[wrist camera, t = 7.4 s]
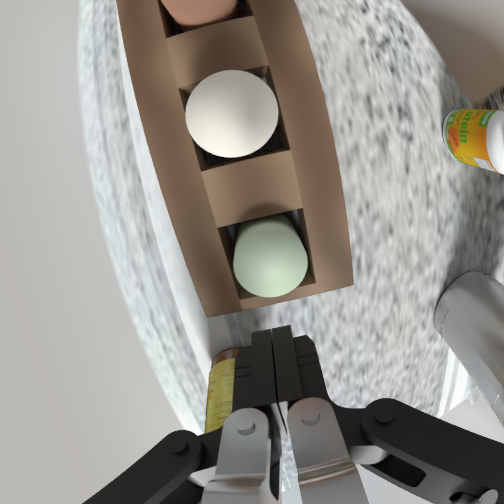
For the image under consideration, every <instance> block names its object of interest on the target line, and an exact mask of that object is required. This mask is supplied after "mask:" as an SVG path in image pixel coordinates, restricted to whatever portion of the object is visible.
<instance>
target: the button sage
mask: <svg viewBox="0 0 504 504" xmlns="http://www.w3.org/2000/svg"><path fill="white" fill-rule="evenodd" d="M233 266H234V273H235V276H236V278H237V280H238V282H239V283H240V284H241V286H242V287H243V288H245V289H246V290H247V291H249V292H250V293H252V294H255V295H257V296H261V297H278V296H281V295H284V294H287V293H289V292H290V291H292V290H293V289H295V288H296V287H297V286H298V285H299V284H300V283H301V281H302V280H303V278H304V276H305V274H306V271H307V266H308V260H307V254H306V251H305V249H304V247H303V245H302V243H301V240H300V238H299V236H298V234H297V232H296V230H295V228H294V226H293V224H292V223H291V221H290V220H289V219H288V218H287V217H285V216H284V215H282V214H280V213H277V214H273V215H269V216H264V217H260V218H256V219H252V220H247V221H243V222H242V224H241V225H240V227H239V229H238V231H237V235H236V244H235V253H234V263H233Z"/></svg>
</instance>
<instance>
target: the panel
mask: <svg viewBox="0 0 504 504" xmlns="http://www.w3.org/2000/svg"><path fill="white" fill-rule="evenodd" d="M242 1H243V5H244V8H245V11H246V14H247V17H243V18H238V19H233V20H229V21H224V22H220V23H216V24H212V25H208V26H205V27H201V28H198V29H194V30H191V31H188V32H184V33H181V34H178V35H175V34H174V30H173V26H172V22H171V18H170V14H169V11H168V10H167V8H166V7H165V6H164V4H163V3H162V1H161V0H116V2H117V8H118V15H119V20H120V26H121V32H122V37H123V42H124V48H125V53H126V57H127V62H128V67H129V71H130V76H131V80H132V85H133V89H134V93H135V97H136V102H137V106H138V110H139V114H140V117H141V121H142V125H143V129H144V133H145V136H146V140H147V144H148V147H149V151H150V154H151V158H152V161H153V165H154V168H155V171H156V175H157V178H158V181H159V184H160V188H161V191H162V194H163V197H164V200H165V204H166V207H167V210H168V213H169V216H170V219H171V222H172V225H173V228H174V231H175V234H176V237H177V239H178V242H179V245H180V248H181V251H182V254H183V256H184V259H185V262H186V265H187V267H188V270H189V273H190V276H191V278H192V281H193V284H194V286H195V289H196V291H197V294H198V297H199V299H200V302H201V304H202V307H203V309H204V312H205V314H206V317H212V316H218V315H223V314H228V313H233V312H238V311H243V310H248V309H253V308H258V307H263V306H267V305H272V304H276V303H281V302H285V301H290V300H294V299H299V298H303V297H307V296H311V295H315V294H320V293H324V292H328V291H332V290H336V289H340V288H344V287H347V286H351V285H354V281H353V269H352V258H351V248H350V239H349V231H348V223H347V215H346V208H345V201H344V194H343V188H342V182H341V176H340V170H339V165H338V159H337V154H336V149H335V144H334V139H333V134H332V129H331V125H330V120H329V116H328V112H327V107H326V103H325V99H324V95H323V91H322V87H321V84H320V80H319V76H318V73H317V69H316V65H315V62H314V59H313V55H312V52H311V49H310V45H309V42H308V39H307V36H306V33H305V30H304V27H303V24H302V21H301V18H300V15H299V12H298V10H297V7H296V4H295V2H294V0H242ZM226 70H240V71H245V72H248V73H251V74H253V75H255V76H257V77H259V78H261V77H266V81H267V85H268V86H269V87H270V89H271V90H272V92H273V94H274V96H275V98H276V101H277V105H278V121H277V123H278V127H279V132H280V136H281V140H282V144H283V148H280V149H275V150H270V151H266V152H261V153H257V154H253V155H249V156H245V157H241V158H237V159H233V160H229V161H225V162H221V163H217V164H214V165H210V166H209V164H208V160H207V157H206V153H205V150H204V149H203V148H202V147H200V146H199V145H198V144H197V143H196V142H195V140H194V139H193V138H192V136H191V134H190V132H189V130H188V127H187V124H186V115H185V113H186V106H187V102H188V99H189V97H190V95H191V93H192V91H193V90H194V89H195V87H196V86H197V85H198V84H199V83H200V82H201V81H203V80H204V79H205V78H207V77H208V76H210V75H212V74H215V73H218V72H221V71H226ZM295 209H297V213H298V218H299V223H300V228H301V233H302V238H303V244H304V249H305V251H306V254H307V260H308V266H307V271H306V274H305V276H304V278H303V280H302V281H301V283H300V284H299V285H298V286H297V287H296V288H295V289H293V290H292V291H290V292H289V293H287V294H284V295H281V296H278V297H261V296H257V295H255V294H252V293H250V292H249V291H247V290H246V289H245V288H243V287H242V286H241V284H240V283H239V282H238V280H237V278H236V276H235V273H234V266H233V263H234V252H233V248H232V245H231V242H230V238H229V235H228V231H227V228H226V226H227V225H231V224H235V223H239V222H243V221H247V220H252V219H256V218H260V217H264V216H269V215H273V214H277V213H282V212H286V211H291V210H295Z"/></svg>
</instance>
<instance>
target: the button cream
mask: <svg viewBox="0 0 504 504" xmlns="http://www.w3.org/2000/svg"><path fill="white" fill-rule="evenodd" d="M185 115H186V124H187V127H188V130H189V132H190V134H191V136H192V138H193V139H194V140H195V142H196V143H197V144H198V145H199V146H200V147H202V148H203V149H204V150H206V151H208V152H210V153H212V154H214V155H217V156H222V157H240V156H244V155H248V154H250V153H252V152H254V151H256V150H258V149H259V148H260V147H262V146H263V145H264V144H265V143H266V142H267V141H268V140H269V138H270V137H271V136H272V134H273V132H274V130H275V128H276V125H277V121H278V105H277V101H276V98H275V96H274V94H273V92H272V90H271V89H270V87H269V86H268V85H267V84H266V83H265V82H264V81H263V80H262V79H260V78H259V77H257V76H255V75H253V74H251V73H248V72H245V71H240V70H226V71H221V72H218V73H215V74H212V75H210V76H208V77H207V78H205V79H204V80H203V81H201V82H200V83H199V84H198V85H197V86H196V87H195V89H194V90H193V91H192V93H191V95H190V97H189V99H188V102H187V106H186V113H185Z"/></svg>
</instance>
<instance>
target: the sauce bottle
mask: <svg viewBox="0 0 504 504" xmlns="http://www.w3.org/2000/svg"><path fill="white" fill-rule="evenodd" d="M239 350H240V348H238V349H234V348H233V349H229V350H225V351H224V352H221V353H220V354H219V355H217V356H216V357H215V359H214V361H213V363H212V366H211V371H210V373H209V384H208V395H207V406H206V419H205V433H208V432H211V431H214V430H216V429H218V428H220V427H221V426H223V425H224V422H225V420H226V419H227V417H228V416H229V415H230V414H231V412H232V400H233V382H234V370H235V369H234V365H235V357H236V355H237V353H238V352H239ZM205 433H204V434H205Z"/></svg>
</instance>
